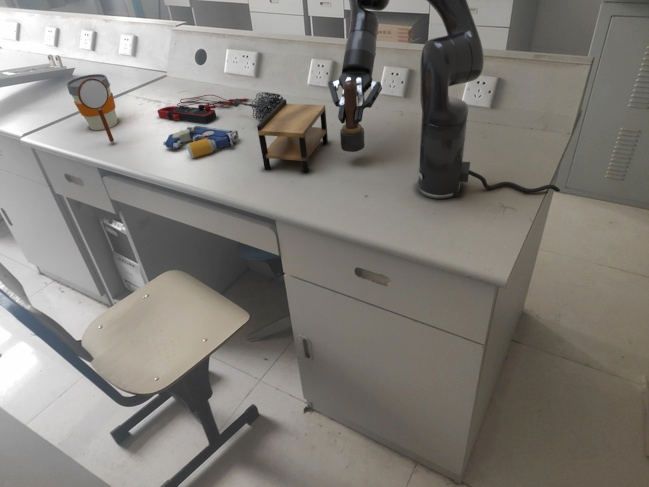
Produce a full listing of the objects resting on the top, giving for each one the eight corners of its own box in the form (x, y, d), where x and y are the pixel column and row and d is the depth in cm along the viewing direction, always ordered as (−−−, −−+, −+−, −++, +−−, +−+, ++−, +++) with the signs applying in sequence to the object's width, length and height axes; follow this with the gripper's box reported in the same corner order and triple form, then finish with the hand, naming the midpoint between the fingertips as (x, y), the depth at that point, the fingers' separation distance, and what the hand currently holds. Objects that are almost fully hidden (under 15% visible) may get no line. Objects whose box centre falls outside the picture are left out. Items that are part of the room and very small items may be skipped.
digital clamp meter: (209, 113, 143) (150, 106, 152) (213, 127, 145) (154, 119, 155) (250, 88, 159) (194, 82, 169) (252, 100, 162) (197, 94, 171)
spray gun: (212, 163, 125) (244, 141, 135) (208, 149, 122) (241, 127, 133) (157, 153, 134) (191, 133, 144) (152, 140, 131) (187, 121, 142)
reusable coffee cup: (80, 125, 156) (61, 81, 147) (116, 114, 162) (100, 71, 153) (90, 135, 148) (71, 90, 139) (128, 124, 154) (111, 79, 145)
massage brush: (248, 111, 154) (243, 83, 148) (300, 121, 144) (297, 91, 138) (229, 121, 148) (223, 93, 142) (282, 132, 138) (278, 102, 132)
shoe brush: (366, 142, 118) (364, 76, 108) (361, 152, 114) (358, 85, 104) (344, 141, 120) (340, 76, 110) (338, 151, 116) (333, 84, 105)
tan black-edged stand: (328, 142, 130) (324, 100, 122) (307, 173, 116) (302, 128, 109) (289, 140, 133) (283, 99, 126) (264, 169, 120) (256, 126, 112)
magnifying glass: (101, 150, 139) (74, 84, 126) (99, 148, 139) (71, 83, 127) (127, 139, 143) (103, 74, 131) (124, 138, 144) (100, 74, 132)
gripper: (328, 47, 111) (317, 115, 109) (385, 47, 107) (375, 117, 105) (336, 63, 118) (326, 127, 116) (389, 63, 114) (380, 129, 112)
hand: (349, 122), depth 111 cm, fingers closed on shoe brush, 3 cm apart
